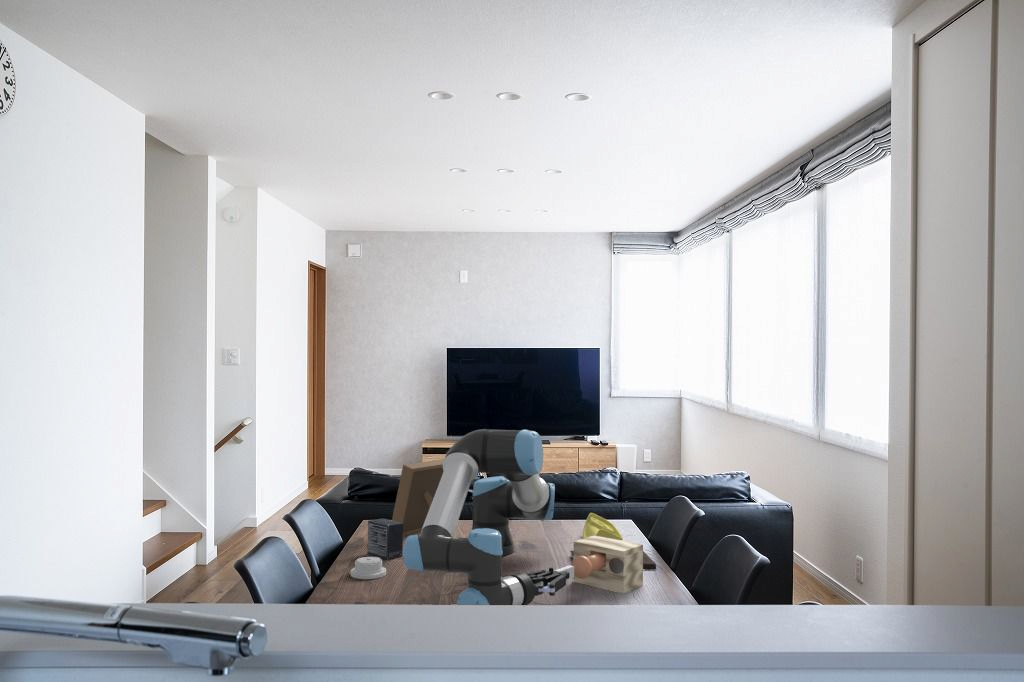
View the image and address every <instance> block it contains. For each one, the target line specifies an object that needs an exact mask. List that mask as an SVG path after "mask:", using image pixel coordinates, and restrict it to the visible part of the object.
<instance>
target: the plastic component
mask: <svg viewBox="0 0 1024 682" xmlns="http://www.w3.org/2000/svg"><path fill="white" fill-rule="evenodd" d="M593 535H594V536H600V537H605V538H611V539H616V540H621V541H623V540H624V536H623V535H622V534H621V533H620V531H619V529H618V528H617V527H616V526H615V525H614V524H613V523H612V522H611V521H609V520H607V519H606V518H604V517H602V516H600V515H598V514H596V513H594V512H589V514H587V518H586V520H585V522H584V525H583V528H582V539H584V538H587V537H590V536H593Z"/></svg>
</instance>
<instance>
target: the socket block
mask: <svg viewBox="0 0 1024 682" xmlns="http://www.w3.org/2000/svg"><path fill="white" fill-rule="evenodd" d="M573 551H574V558H575V557H578V556H586V557H588V556H591V555H594V554H597V553H600V552H601V553H606V567H604V568H601V569H598V570H596V571H593V572H592V573H591V574H590V576H588V577H586V578H583V579H580V578H577V577H576V576H575V575H574V577H573V580H572V581H573V583H577V584H582V585H586V586H589V587H593V588H597V589H603V590H606V591H611V592H615V593H619V594H623V595H625V594H627V593H628V592H631V591H633V590H635V589H637V588H641V587H643V586H644V570H643V551H644V544H643V543H637V542H630V541H626V540H622V541H621V540H616V539H611V538H605V537H600V536H594V535H593V536H590V537H587V538H581V539H578V540H574V541H573Z"/></svg>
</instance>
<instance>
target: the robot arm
mask: <svg viewBox="0 0 1024 682" xmlns="http://www.w3.org/2000/svg"><path fill="white" fill-rule="evenodd" d="M443 459H444V461H443V470H444V472H443V475H442V477H441V480H440V483H439V485H438V488H437V491H436V493H435V496H434V498H433V501H432V504H431V506H430V509H429V512H428V514H427V517H426V520H425V522H424V525H423V527H422V530H421V532H419V534H416V533H415V534H413V535H412V534H409V535H408V536H407V537H406V538H405V540H404V542H403V556H402V560H403V565H404V566H405V567H406V569H408V570H414V571H421V572H425V571H426V572H443V573H444V572H446V573H447V572H448V573H459V574H460V573H463V574H467V588H465V589H464V590H462V591H461V592H460V593H459V596H458V597H457V601H456V606H457V605H526V606H528V605H530V604H531V603H532V602H533V601H534V599H535V597H537V596H541V595H543V594H544V593H547V594H548V595H549V596H550V597H554V596H555V595H556V594H555V593H557V592H558V591H560V590H561V589H562V588H563V589H564V587H565V586H567V580H571V579H572V578H573V577H574V566H571V564H569V565H567V566H563V567H560V568H557V569H555V570H554V567H548V571H547V570H546V569H539V570H536V571H530V572H515V573H512V574H509V575H506V576H503V574H502V572H503V571H502V570H503V556H506V555H510V554H513V553H514V552H513V551H515V543H514V539H513V537H512V532H511V529H510V525H509V524H510V520H530V521H531V520H533V521H541V522H542V521H551V520H552V519H553V517H554V506H555V491H556V486H555V483H551V482H546V481H545V480H544V479H543V478H541V477H540V474H539V473H541V470H542V469H543V464H544V447H543V440H542V437H541V435H540V434H539V433H538V432H536V431H534V430H529V429H522V430H515V429H512V430H511V429H508V430H507V429H487V428H483V429H477V430H476V429H475V430H473V431H471V432H468V433H466V434H465V435H463V436H462V437H460V438H459V439H458V440H457V441H456V442H455V443H454V444H453V445H452V446H451V447H450V448H449V449H448V451H447V453H446V455H445V457H444V458H443ZM482 473H484V474H500V475H499V476H491V477H483V478H481V479H478V480H475V479H476V478H477V477H478V474H482ZM474 480H475V482H474V484H473V490H472V527H471V529H470V531H469V533H468V536H467V537H458V536H457V537H455V536H454V535H455V531H456V528H457V525H458V522H459V520H460V516H461V513H462V510H463V508H464V505H465V502H466V498H467V495H468V492H469V489H470V486H471V483H472V481H474Z"/></svg>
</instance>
